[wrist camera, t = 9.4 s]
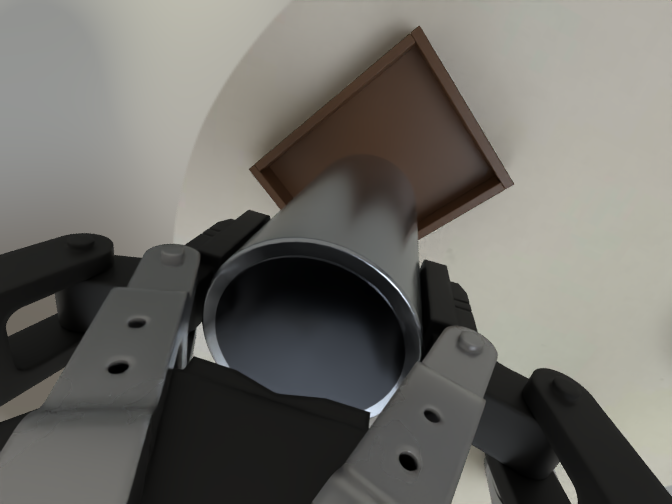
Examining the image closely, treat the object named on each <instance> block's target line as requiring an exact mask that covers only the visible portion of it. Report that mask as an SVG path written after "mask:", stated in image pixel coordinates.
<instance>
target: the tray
mask: <svg viewBox="0 0 672 504" xmlns="http://www.w3.org/2000/svg"><path fill="white" fill-rule="evenodd" d="M353 154H370V155H375V156H378V157H381V158H384V159H386V160H388V161H390V162H391V163H393V164H394V165H396V166H397V167H398V168H399V169H400V170H401V171H402V172H403V173H404V174H405V175H406V177H407V178H408V180H409V181H410V183H411V186H412V188H413V191H414V194H415V199H416V212H417V230H418V240H419V239H421V238H423V237H424V236H426V235H428V234H429V233H431V232H433V231H435V230H436V229H438V228H440V227H441V226H443V225H445V224H447V223H448V222H450V221H452V220H453V219H455V218H457V217H459V216H460V215H462V214H464V213H466V212H467V211H469V210H471V209H472V208H474V207H476V206H478V205H479V204H481V203H483V202H484V201H486V200H488V199H490V198H491V197H493V196H495V195H496V194H498V193H500V192H502V191H503V190H505V189H507V188H509V187H510V186H512V185H514V183H513V181H512V180H511V178H510V176H509V175H508V173H507V171H506V170H505V168H504V166H503V165H502V163H501V161H500V160H499V158H498V156H497V154H496V153H495V151H494V149H493V148H492V146H491V144H490V143H489V141H488V139H487V138H486V136H485V134H484V133H483V131H482V129H481V128H480V126H479V124H478V123H477V121H476V119H475V118H474V116H473V114H472V113H471V111H470V109H469V108H468V106H467V104H466V102H465V101H464V99H463V97H462V96H461V94H460V92H459V91H458V89H457V87H456V86H455V84H454V82H453V81H452V79H451V77H450V76H449V74H448V72H447V71H446V69H445V67H444V66H443V64H442V62H441V61H440V59H439V57H438V56H437V54H436V52H435V51H434V49H433V47H432V45H431V44H430V42H429V40H428V39H427V37H426V35H425V34H424V32H423V30H422V29H421V27H420V26H418V27H417V28H415V29H414V30H413V31H412V32H411V34H408V35H407V36H406V37H405V38H404V39H403V40H401V41H400V42H399V43H398V44H397V45H395V46H394V47H393V48H392V49H391V50H389V51H388V52H387V53H386V54H385V55H384V56H382V57H381V58H380V59H379V60H378V61H376V62H375V63H374V64H373V65H372V66H371V67H369V68H368V69H367V70H366V71H365V72H363V73H362V74H361V75H360V76H359V77H357V78H356V79H355V80H354V81H353V82H352V83H350V84H349V85H348V86H347V87H346V88H344V89H343V90H342V91H341V92H340V93H339V94H337V95H336V96H335V97H334V98H333V99H331V100H330V101H329V102H328V103H327V104H325V105H324V106H323V107H322V108H321V109H320V110H318V111H317V112H316V113H315V114H314V115H312V116H311V117H310V118H309V119H308V120H307V121H305V122H304V123H303V124H302V125H301V126H299V127H298V128H297V129H296V130H295V131H293V132H292V133H291V134H290V135H289V136H288V137H286V138H285V139H284V140H283V141H282V142H280V143H279V144H278V145H277V146H276V147H275V148H273V149H272V150H271V151H270V152H269V153H267V154H266V155H265V156H264V157H263V158H261V159H260V160H259V161H258V162H257V163H256V164H255V165H253V166H252V167H251V168H250V169H249V170H250V171H251V173H252V174H253V175H254V177H255V178H256V179H257V180H258V182H259V183H260V184H261V185H262V187H263V188H264V189H265V190H266V192H267V193H268V194H269V195H270V197H271V198H272V199H273V201H274V202H275V203H276V204H277V206H278V207H279V208H280V209H282V208H283V207H284V206H286V205H287V204H288V203H289V202H290V201H291V200H292V199H293V198H294V197H295V196H296V195H297V194H298V193H299V192H301V191H302V190H303V189H304V188H305V187H306V186H307V185H308V184H309V183H310V182H311V181H312V180H313V179H314V178H316V177H317V176H318V175H319V174H320V173H321V172H322V171H323V170H324V169H325V168H326V167H327V166H328V165H330V164H331V163H333V162H334V161H336V160H338V159H340V158H342V157H345V156H349V155H353Z"/></svg>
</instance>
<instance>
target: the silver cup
mask: <svg viewBox="0 0 672 504" xmlns="http://www.w3.org/2000/svg"><path fill="white" fill-rule="evenodd" d="M202 325H203V331H204V336H205V339H206V343H207V346H208V348H209V350H210V353H211V355H212V357H213V359H214V360H215V362H216V364H219V365H223V366H226V367H229V368H232V369H235V370H237V371H239V372H241V373H242V374H244V375H246V376H247V377H249V378H251V379H253V380H254V381H256V382H258V383H259V384H261V385H263V386H264V387H266V388H268V389H270V390H271V391H273V392H275V393H279V394H287V395H298V396H308V397H319V398H327V399H330V400H333V401H336V402H339V403H343V404H346V405H349V406H352V407H355V408H358V409H362V410H365V411H368V412H371V413H370V419H371V418H374V417H376V416H378V415H379V414H380V413H381V411H382V410H383V409H384V407H385V406H386V404H387V403H388V401H389V400H390V399H391V397H392V396H393V394H394V393H395V392H396V390H397V389H398V387H399V386H400V384H401V383H402V382H403V380H404V379H405V377H406V376H407V375H408V373H409V372H410V370H411V369H412V367H413V366H414V365H415V363H416V362H417V361H420V362H421V363H422V359H423V353H424V340H423V321H422V303H421V285H420V266H419V248H418V230H417V212H416V199H415V194H414V191H413V188H412V186H411V183H410V181H409V180H408V178H407V177H406V175H405V174H404V173H403V172H402V171H401V170H400V169H399V168H398V167H397V166H396V165H394V164H393V163H391V162H390V161H388V160H386V159H384V158H381V157H378V156H375V155H370V154H353V155H349V156H345V157H342V158H340V159H338V160H336V161H334V162H333V163H331V164H330V165H328V166H327V167H326V168H325V169H324V170H323V171H322V172H321V173H320V174H319V175H318V176H317V177H316V178H314V179H313V180H312V181H311V182H310V183H309V184H308V185H307V186H306V187H305V188H304V189H303V190H302V191H301V192H299V193H298V194H297V195H296V196H295V197H294V198H293V199H292V200H291V201H290V202H289V203H288V204H287V205H286V206H284V207H283V208H282V209H281V210H280V211H279V212H278V213H277V214H276V215H275V216H274V217H273V218H272V219H271V220H269V221H268V222H267V223H266V224H265V225H264V226H263V227H262V228H261V229H260V230H259V231H258V232H257V233H255V234H254V235H253V236H252V237H251V238H250V239H249V240H248V241H247V242H246V243H245V244H244V245H243V246H242V247H240V248H239V249H238V250H237V251H236V252H235V253H234V254H233V255H232V256H231V257H230V258H229V259H228V260H227V261H226V262H225V263H224V264H222V265H221V266H220V268H219V269H218V270H217V272H216V273H215V274H214V276H213V277H212V279H211V281H210V283H209V285H208V287H207V291H206V294H205V297H204V302H203V309H202Z"/></svg>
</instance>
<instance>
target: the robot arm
mask: <svg viewBox="0 0 672 504" xmlns="http://www.w3.org/2000/svg"><path fill="white" fill-rule="evenodd" d="M269 220H270V216H269V215H265V214H262V213H258V212H255V211H251V210H248V211H246V212H245V213H244V214H242V215H241V216H240V217H238V218H237V219H236V220H233V219H228V220H224V221H220V222H217V223H216V224H215V225H213V226H212V227H210V229H207V230H206V231H204V232H203V234H200V235H199V236H197V237H196V238H194V239H193V240H191V241H190V242H189V243H187V244H186V245H180V244H164V245H159V246H155V247H152V248H150V249H148V250H147V251H146V252H145V254H144V255H143V257H142V258H137V257H127V256H118V255H114V247H113V242H112V241H111V240H110V239H109V238H107V237H105V236H101V235H97V234H89V233H81V234H70V235H65V236H61V237H58V238H55V239H51V240H48V241H45V242H41V243H38V244H34V245H31V246H28V247H25V248H21V249H18V250H15V251H11V252H8V253H4V254H1V255H0V406H2V405H4V404H5V403H7V402H8V401H10V400H12V399H13V398H15V397H16V396H18V395H20V394H22V393H23V392H24V391H26V390H28V389H30V388H31V387H33V386H35V385H36V384H38V383H40V382H41V381H43V380H44V379H46V378H48V377H49V376H51V375H53V374H54V373H56V372H58V371H59V370H61V369H62V368H64V367H65V369H64V370H63V372H62V374H61V375H60V377H59V379H58V380H57V382H56V384H55V386H54V387H53V389H52V391H51V393H50V394H49V396H48V397H47V399H46V401H45V402H44V404H43V405H42V406H41V407H40V408H38V409H36V410H33V411H30V412H27V413H25V414H22V415H19V416H16V417H14V418H11V419H8V420H5V421H3V422H0V504H451V502H452V499H453V496H454V494H455V491H456V488H457V485H458V482H459V479H460V476H461V473H462V470H463V467H464V465H465V462H466V459H467V456H468V453H469V450H470V447H471V444H472V445H473V446H475V447H477V448H478V449H480V450H482V451H483V452H485V456H486V460H487V463H488V466H489V468H490V471H491V474H492V476H493V479H494V481H495V484H496V486H497V489H498V492H499V494H500V497H501V499H502V502H503V504H571V502H570V501H569V499H568V497H567V495H566V493H565V491H564V490H563V488H562V486H561V484H560V482H559V480H558V479H557V477H556V475H555V473H554V471H553V470H554V468H555V467H556V466H557V465H558V463H559V462H561V464H562V466H563V468H564V469H565V471H566V473H567V475H568V476H569V478H570V480H571V481H572V483H573V485H574V487H575V490H576V493H577V498H578V504H672V496H671V495H670V494H669V493H668V492H667V490H666V489H665V487H664V486H663V485H662V484H661V482H660V481H659V480H658V479H657V477H656V476H655V475H654V474H653V472H652V471H651V470H650V469H649V467H648V466H647V465H646V464H645V462H644V461H643V460H642V458H641V457H640V456H639V455H638V453H637V452H636V451H635V450H634V448H633V447H632V446H631V445H630V443H629V442H628V441H627V440H626V438H625V437H624V436H623V435H622V433H621V432H620V431H619V429H618V428H617V427H616V426H615V424H614V423H613V422H612V421H611V419H610V418H609V417H608V416H607V414H606V413H605V412H604V411H603V409H602V408H601V407H600V406H599V404H598V403H597V402H596V400H595V399H594V398H593V397H592V395H591V394H590V393H589V392H588V391H587V390H586V389H585V388H584V387H583V386H581V385H580V384H579V383H578V382H576V381H575V380H573V379H572V378H570V377H568V376H567V375H565V374H563V373H560V372H558V371H555V370H552V369H547V368H539V369H536V370H535V371H534V372H533V374H532V375H531V377H530V378H529V379H528V378H526V377H524V376H522V375H520V374H518V373H516V372H514V371H512V370H510V369H508V368H507V367H505V366H503V365H502V364H500V363H498V362H497V357H498V354H497V351H496V349H495V347H494V345H493V344H492V343H491V342H490V341H489V340H488V339H487V338H485V337H484V336H483V335H481V334H480V333H478V332H477V328H476V325H475V321H474V317H473V314H472V312H471V311H472V310H471V307H470V304H469V299H468V296H467V293H466V292H465V291H464V290H463V288H462V287H461V286H460V285H459V284H458V283H454V282H451V281H450V279H449V274H448V270H447V266H446V265H442V264H439V263H435V262H432V261H428V260H424V261H423V263H422V265H421V268H420V285H421V303H422V321H423V340H424V353H423V359H422V363H421V362H420V361H417V362H416V363H415V365H414V366H413V367H412V369H411V370H410V372H409V373H408V375H407V376H406V377H405V379H404V380H403V382H402V383H401V384H400V386H399V387H398V389H397V390H396V392H395V393H394V394H393V396H392V397H391V399H390V400H389V401H388V403H387V404H386V406H385V407H384V409H383V410H382V411H381V413H380V414H379V416H378V417H377V418H376V420H375V421H374V423H373V424H372V425H371V427H370V428H369V422H370V413H371V412H368V411H365V410H362V409H358V408H355V407H352V406H349V405H346V404H343V403H339V402H336V401H333V400H330V399H327V398H319V397H308V396H298V395H287V394H279V393H275V392H273V391H271V390H270V389H268V388H266V387H264V386H263V385H261V384H259V383H258V382H256V381H254V380H253V379H251V378H249V377H247V376H246V375H244V374H242V373H241V372H239V371H237V370H235V369H232V368H229V367H226V366H223V365H219V364H216V363H213V362H210V361H207V360H204V359H200V358H197V357H193V358H192V355H193V350H194V344H195V339H196V328H197V326H198V325H199V324H200V323H201V322H202V309H203V302H204V297H205V294H206V291H207V287H208V285H209V283H210V281H211V279H212V277H213V276H214V274H215V273H216V272H217V270H218V269H219V268H220V266H221V265H222V264H224V263H225V262H226V261H227V260H228V259H229V258H230V257H231V256H232V255H233V254H234V253H235V252H236V251H237V250H238V249H239V248H240V247H242V246H243V245H244V244H245V243H246V242H247V241H248V240H249V239H250V238H251V237H252V236H253V235H254V234H255V233H257V232H258V231H259V230H260V229H261V228H262V227H263V226H264V225H265V224H266V223H267V222H268V221H269ZM54 293H55V298H56V305H57V312H58V313H57V314H55V315H53V316H51V317H48V318H46V319H44V320H42V321H40V322H38V323H36V324H34V325H32V326H29V327H27V328H25V329H23V330H21V331H19V332H17V333H15V334H13V335H11V336H9V337H8V336H7V332H6V323H7V321H8V319H9V317H10V316H11V315H12V314H13V313H14V312H15V311H17V310H18V309H20V308H21V307H24V306H26V305H29V304H31V303H33V302H35V301H38V300H40V299H43V298H45V297H47V296H50V295H52V294H54Z"/></svg>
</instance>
